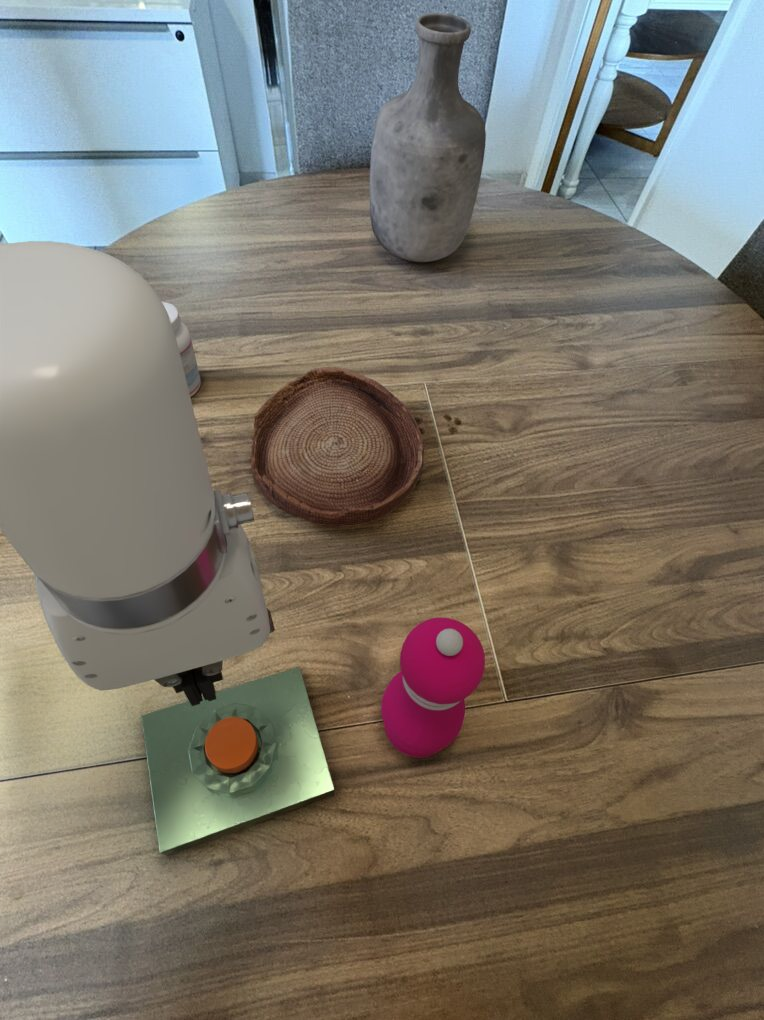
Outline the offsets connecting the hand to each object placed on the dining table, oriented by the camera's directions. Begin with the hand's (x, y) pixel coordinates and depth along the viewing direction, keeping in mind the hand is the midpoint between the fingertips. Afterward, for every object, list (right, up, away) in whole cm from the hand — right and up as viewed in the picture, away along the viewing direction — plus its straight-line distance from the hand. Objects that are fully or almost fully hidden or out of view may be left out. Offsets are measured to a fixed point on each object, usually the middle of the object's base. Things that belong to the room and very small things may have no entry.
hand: (200, 681), depth 41 cm
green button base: (0, -10, +12) cm, 16 cm away
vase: (+18, +54, +58) cm, 81 cm away
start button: (0, -8, +9) cm, 12 cm away
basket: (+7, +18, +32) cm, 37 cm away
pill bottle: (-14, +27, +37) cm, 48 cm away
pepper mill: (+16, -8, +15) cm, 23 cm away
